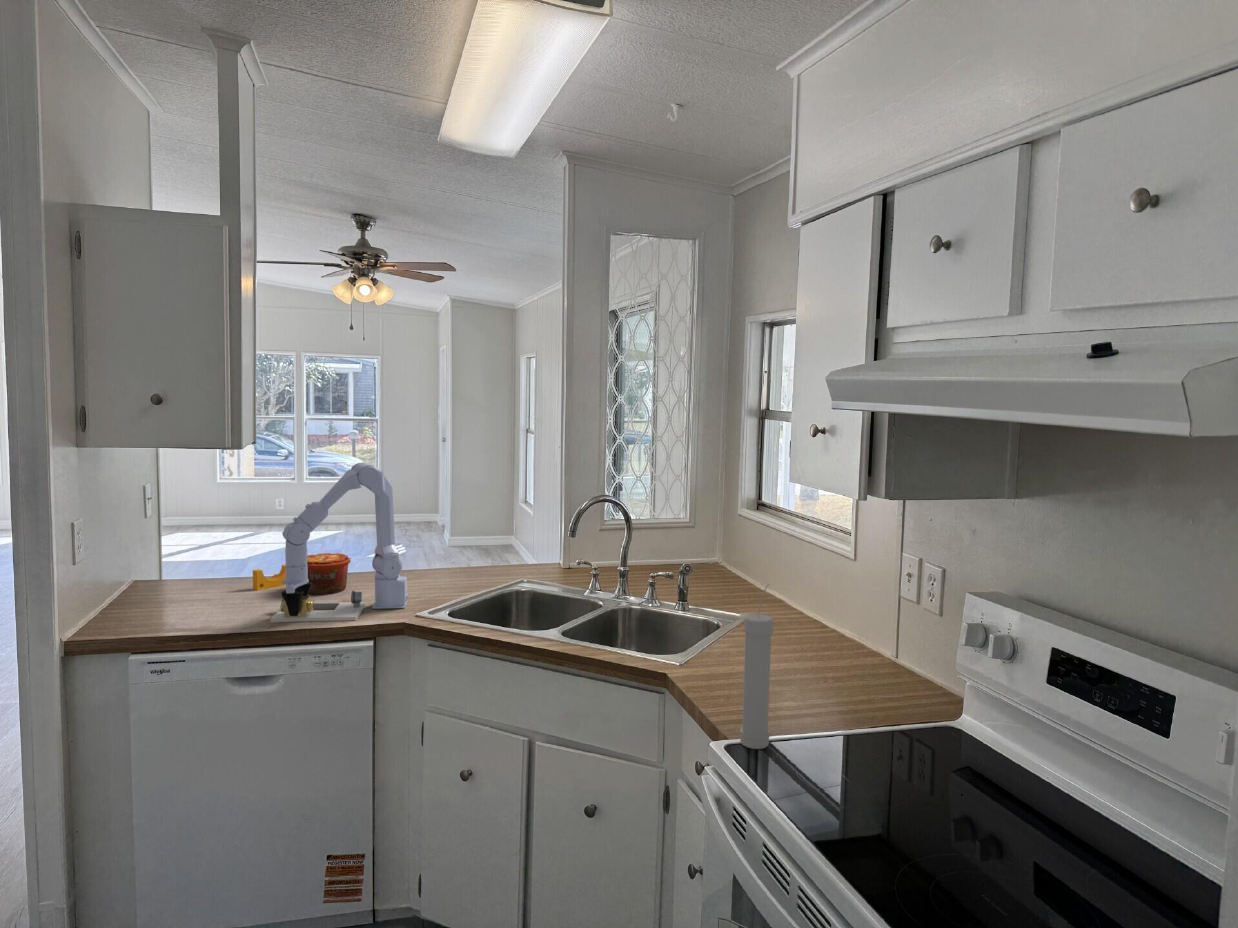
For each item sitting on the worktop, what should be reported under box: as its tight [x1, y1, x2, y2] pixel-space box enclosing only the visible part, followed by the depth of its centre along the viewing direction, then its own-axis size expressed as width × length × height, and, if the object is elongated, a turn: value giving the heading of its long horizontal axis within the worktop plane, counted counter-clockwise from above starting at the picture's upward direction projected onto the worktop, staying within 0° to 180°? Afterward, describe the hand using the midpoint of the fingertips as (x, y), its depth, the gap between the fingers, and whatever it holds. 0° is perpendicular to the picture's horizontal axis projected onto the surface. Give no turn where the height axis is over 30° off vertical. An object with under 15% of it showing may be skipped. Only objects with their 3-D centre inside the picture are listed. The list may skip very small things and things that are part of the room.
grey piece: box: [739, 583, 774, 750], centre depth 147 cm, size 6×6×30 cm
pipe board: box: [270, 590, 367, 623], centre depth 229 cm, size 23×16×6 cm
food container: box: [307, 552, 351, 595], centre depth 256 cm, size 16×16×11 cm
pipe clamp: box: [252, 563, 286, 592], centre depth 260 cm, size 12×4×6 cm, turn 144°
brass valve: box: [280, 595, 315, 618], centre depth 224 cm, size 8×4×5 cm, turn 98°
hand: (297, 611), depth 224 cm, fingers open, 7 cm apart
